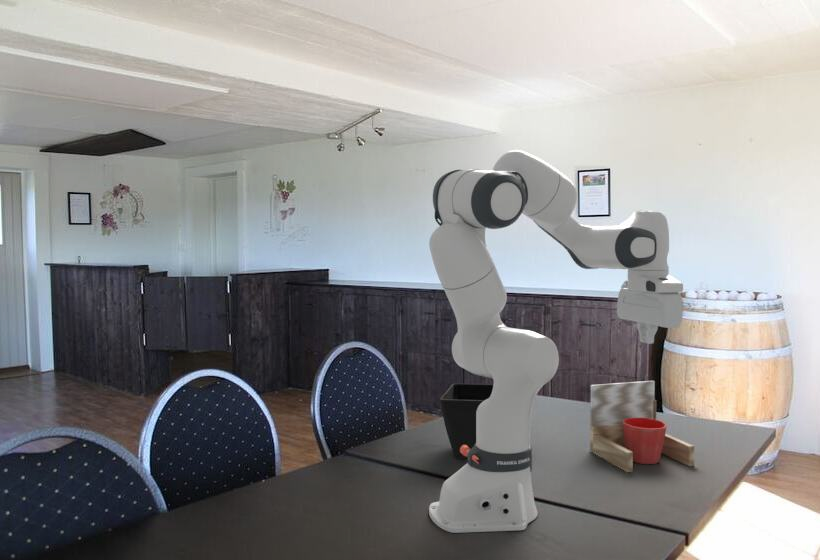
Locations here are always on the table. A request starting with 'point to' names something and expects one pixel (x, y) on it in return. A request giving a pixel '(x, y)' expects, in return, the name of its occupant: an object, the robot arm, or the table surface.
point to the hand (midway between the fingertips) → (646, 342)
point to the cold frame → (617, 406)
